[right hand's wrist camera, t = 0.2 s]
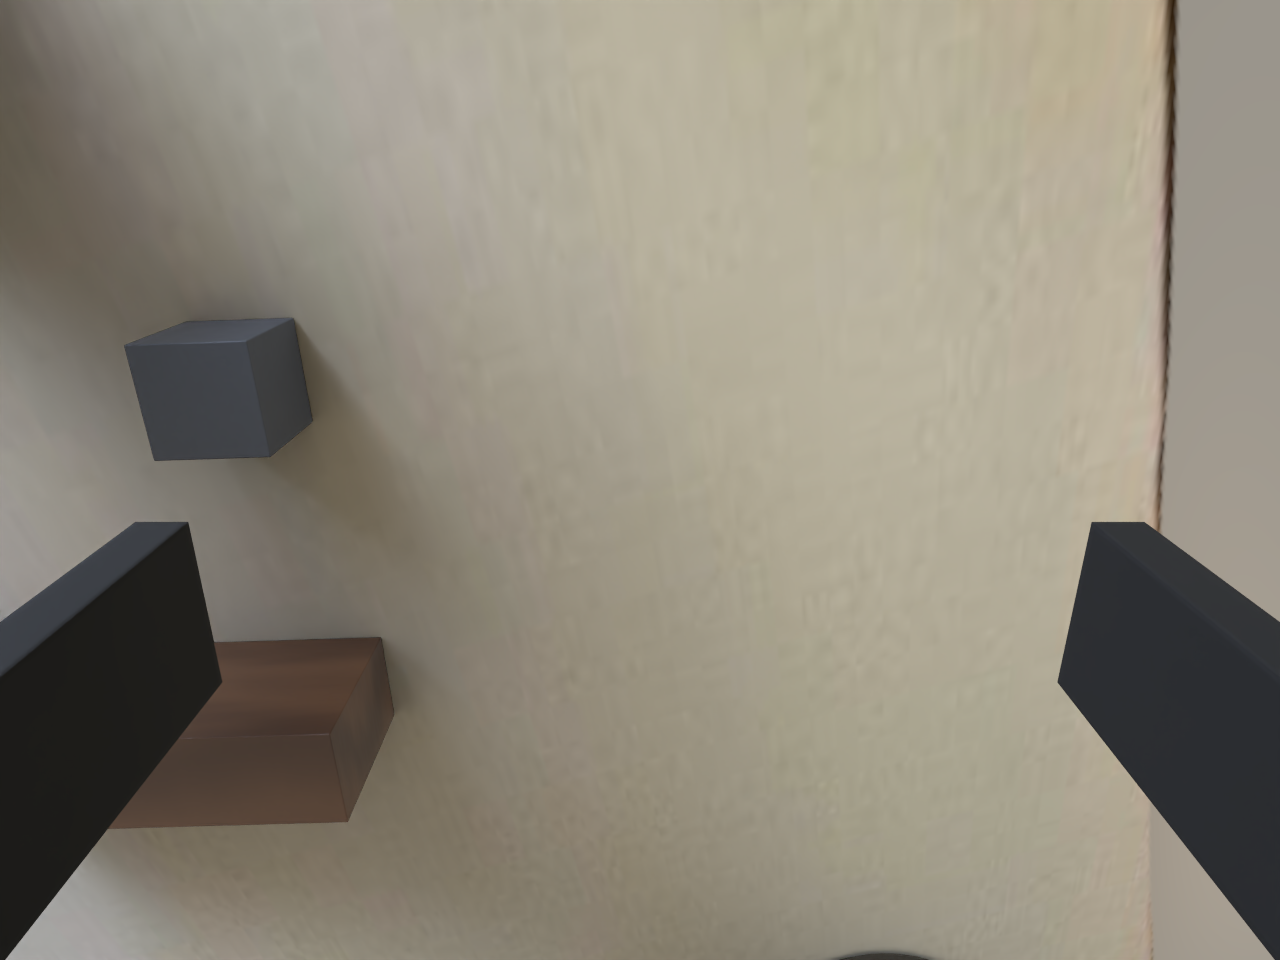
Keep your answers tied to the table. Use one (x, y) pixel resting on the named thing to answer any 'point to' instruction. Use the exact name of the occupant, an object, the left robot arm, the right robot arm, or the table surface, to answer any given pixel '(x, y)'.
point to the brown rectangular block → (274, 738)
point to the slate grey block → (220, 388)
